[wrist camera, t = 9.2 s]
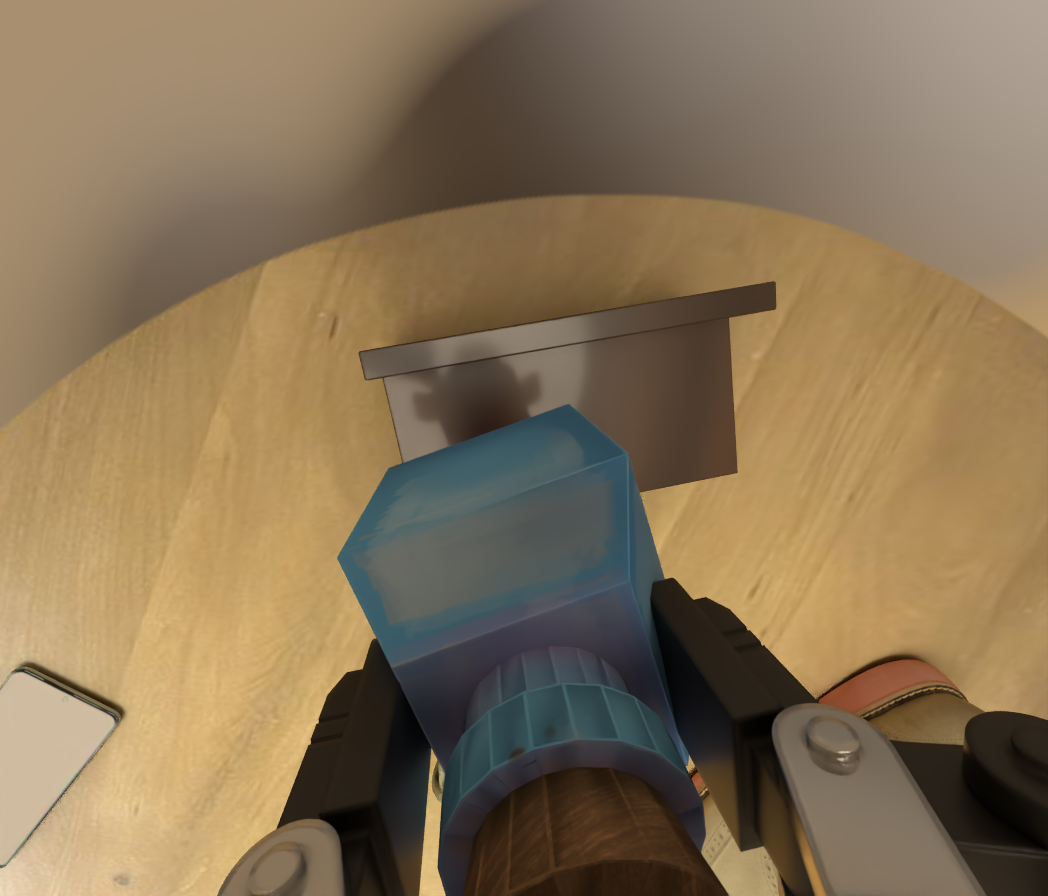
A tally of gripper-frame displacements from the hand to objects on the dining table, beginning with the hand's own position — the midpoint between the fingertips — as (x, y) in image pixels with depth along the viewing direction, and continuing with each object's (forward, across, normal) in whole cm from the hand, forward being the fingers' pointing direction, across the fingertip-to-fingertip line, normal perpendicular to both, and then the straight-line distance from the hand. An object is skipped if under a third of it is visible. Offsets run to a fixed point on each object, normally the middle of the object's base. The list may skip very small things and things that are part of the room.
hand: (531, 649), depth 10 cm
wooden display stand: (+22, -4, -1) cm, 23 cm away
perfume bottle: (+7, 0, 0) cm, 7 cm away
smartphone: (+22, +35, +17) cm, 45 cm away
